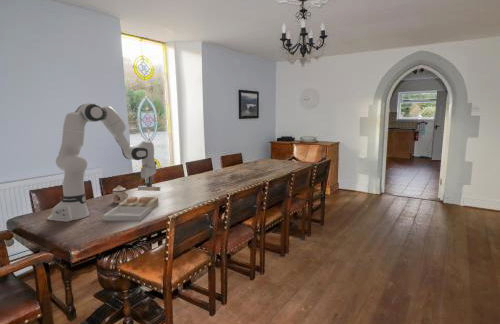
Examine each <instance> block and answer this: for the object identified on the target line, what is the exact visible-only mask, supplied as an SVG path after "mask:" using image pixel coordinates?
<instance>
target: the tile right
mask: <svg viewBox="0 0 500 324" xmlns="http://www.w3.org/2000/svg"><path fill="white" fill-rule="evenodd" d="M141 197H142V198H140V199H139V202H148V201H149V197H150V196H141Z"/></svg>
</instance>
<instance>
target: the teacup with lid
mask: <svg viewBox="0 0 500 324" xmlns="http://www.w3.org/2000/svg"><path fill="white" fill-rule="evenodd" d="M126 190H127V188H125V187H123V186H121V185H117V187H115V188H113V189H112V200H113V203H114V204H120V203H121V202H123V201H125V200H126V199H128V198H129V197H128V196H129V195H128V193H127V191H126Z"/></svg>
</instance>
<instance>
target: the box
mask: <svg viewBox="0 0 500 324" xmlns="http://www.w3.org/2000/svg"><path fill="white" fill-rule="evenodd" d="M151 213H152V210H151V207H122V206H119V205H118V206H116V207H114V208H113V209H111V210H109V211H108V212H106V213H104V214H103V215H102V218H103V219H102V220H103V222H141V221H143V220H144V219H145V218H146V217H147V216H148V215H149V214H151Z"/></svg>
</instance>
